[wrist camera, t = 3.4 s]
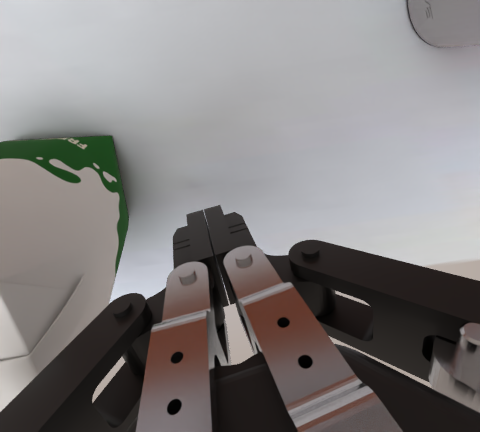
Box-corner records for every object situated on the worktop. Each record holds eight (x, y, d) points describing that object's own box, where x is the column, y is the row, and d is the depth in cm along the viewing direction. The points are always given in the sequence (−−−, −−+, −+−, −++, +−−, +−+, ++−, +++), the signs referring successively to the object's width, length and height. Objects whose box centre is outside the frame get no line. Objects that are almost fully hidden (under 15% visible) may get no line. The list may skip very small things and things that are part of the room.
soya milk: (33, 236, 25) (-288, 644, 7) (-10, 126, 21) (-987, 462, 3) (142, 225, 26) (88, 538, 9) (122, 120, 22) (-49, 324, 5)
